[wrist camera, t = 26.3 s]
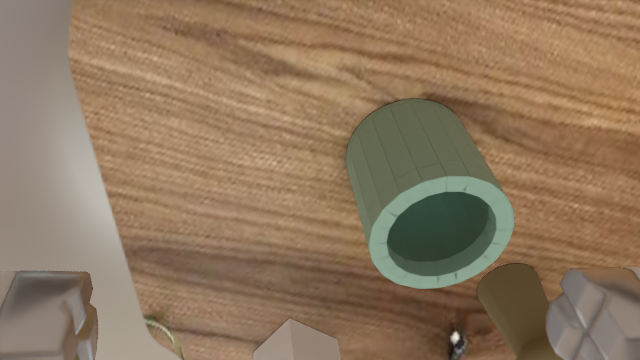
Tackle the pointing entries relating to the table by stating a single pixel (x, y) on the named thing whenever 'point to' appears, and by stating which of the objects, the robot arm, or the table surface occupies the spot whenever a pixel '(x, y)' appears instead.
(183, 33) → the table surface
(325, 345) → the white cube
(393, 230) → the jar
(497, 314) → the brown pawn
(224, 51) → the table surface
